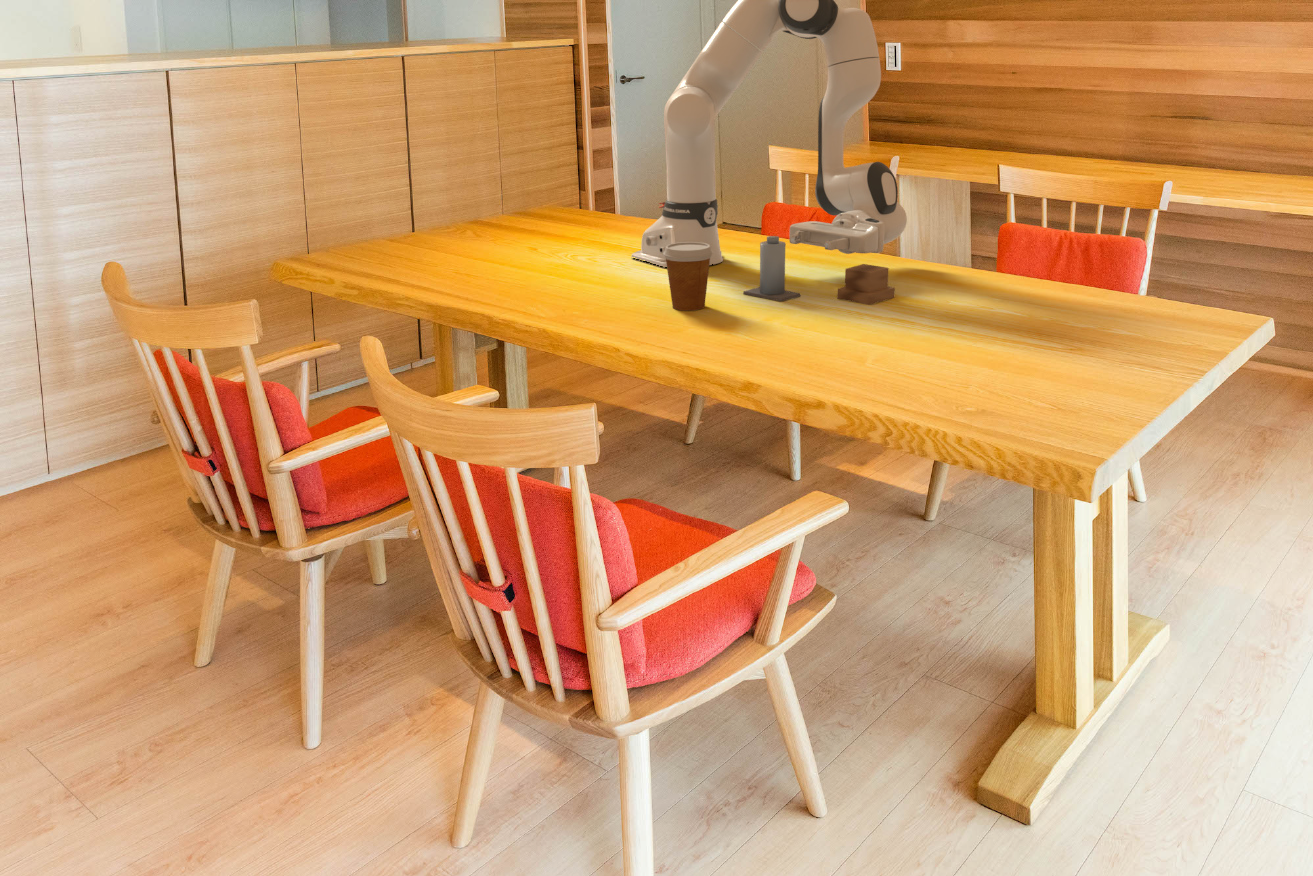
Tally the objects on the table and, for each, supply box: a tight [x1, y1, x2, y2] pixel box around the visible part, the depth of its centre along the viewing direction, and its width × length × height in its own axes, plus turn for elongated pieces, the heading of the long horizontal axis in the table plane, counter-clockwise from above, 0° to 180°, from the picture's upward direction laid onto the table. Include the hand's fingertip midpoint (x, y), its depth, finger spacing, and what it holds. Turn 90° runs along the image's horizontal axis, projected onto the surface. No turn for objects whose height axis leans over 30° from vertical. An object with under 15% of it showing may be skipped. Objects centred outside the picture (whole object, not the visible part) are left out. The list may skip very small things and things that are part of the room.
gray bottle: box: [759, 235, 786, 295], centre depth 229 cm, size 5×5×11 cm
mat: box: [743, 286, 801, 302], centre depth 231 cm, size 10×6×1 cm, turn 44°
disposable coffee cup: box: [663, 242, 712, 312], centre depth 221 cm, size 10×10×12 cm
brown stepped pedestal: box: [837, 263, 896, 306], centre depth 225 cm, size 8×8×6 cm
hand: (809, 242), depth 236 cm, fingers open, 8 cm apart
